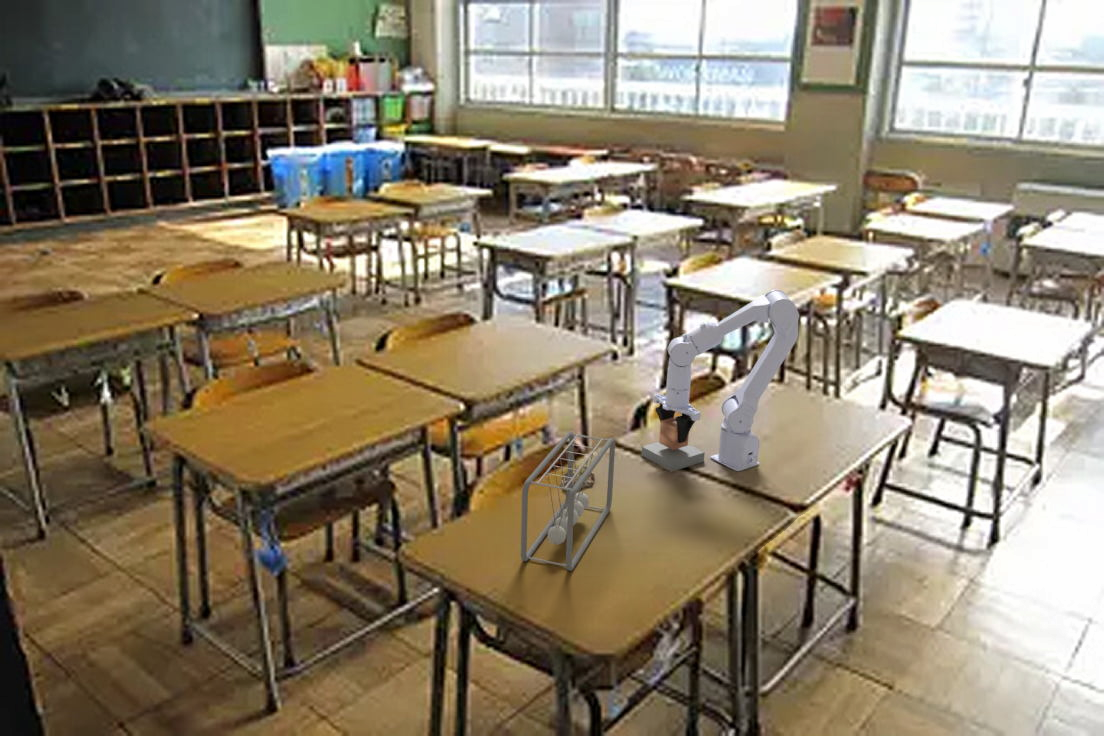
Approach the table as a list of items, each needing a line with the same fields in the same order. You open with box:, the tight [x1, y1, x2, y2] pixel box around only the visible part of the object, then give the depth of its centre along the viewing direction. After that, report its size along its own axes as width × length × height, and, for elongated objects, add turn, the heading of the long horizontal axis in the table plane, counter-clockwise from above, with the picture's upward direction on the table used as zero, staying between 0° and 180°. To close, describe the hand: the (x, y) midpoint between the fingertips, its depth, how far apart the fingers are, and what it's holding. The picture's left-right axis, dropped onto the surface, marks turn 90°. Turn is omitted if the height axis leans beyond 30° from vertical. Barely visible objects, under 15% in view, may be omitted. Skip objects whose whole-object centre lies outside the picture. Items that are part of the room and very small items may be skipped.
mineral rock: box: [559, 465, 596, 492], centre depth 218 cm, size 11×4×8 cm
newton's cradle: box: [520, 430, 616, 572], centre depth 192 cm, size 30×10×18 cm, turn 161°
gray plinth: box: [641, 441, 705, 472], centre depth 232 cm, size 11×11×2 cm
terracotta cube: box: [658, 416, 690, 450], centre depth 230 cm, size 5×5×6 cm
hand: (674, 438), depth 231 cm, fingers closed on terracotta cube, 5 cm apart
